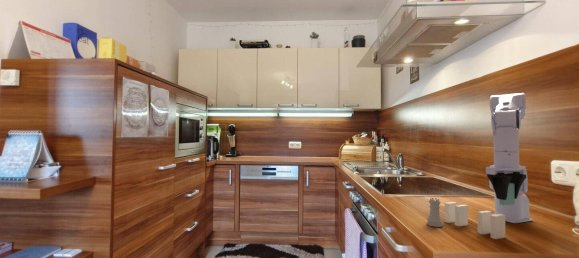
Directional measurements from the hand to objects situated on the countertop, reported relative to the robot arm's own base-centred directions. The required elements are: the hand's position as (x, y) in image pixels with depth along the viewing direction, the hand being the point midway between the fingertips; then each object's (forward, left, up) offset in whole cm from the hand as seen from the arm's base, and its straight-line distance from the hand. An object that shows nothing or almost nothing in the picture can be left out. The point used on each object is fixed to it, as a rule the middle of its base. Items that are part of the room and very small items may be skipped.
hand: (506, 198), depth 76 cm
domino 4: (+7, +2, -10) cm, 12 cm away
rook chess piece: (+15, -11, -10) cm, 21 cm away
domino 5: (0, 0, -2) cm, 2 cm away
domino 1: (+7, -12, -10) cm, 17 cm away
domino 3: (+7, -1, -10) cm, 12 cm away
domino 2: (+7, -8, -10) cm, 15 cm away
